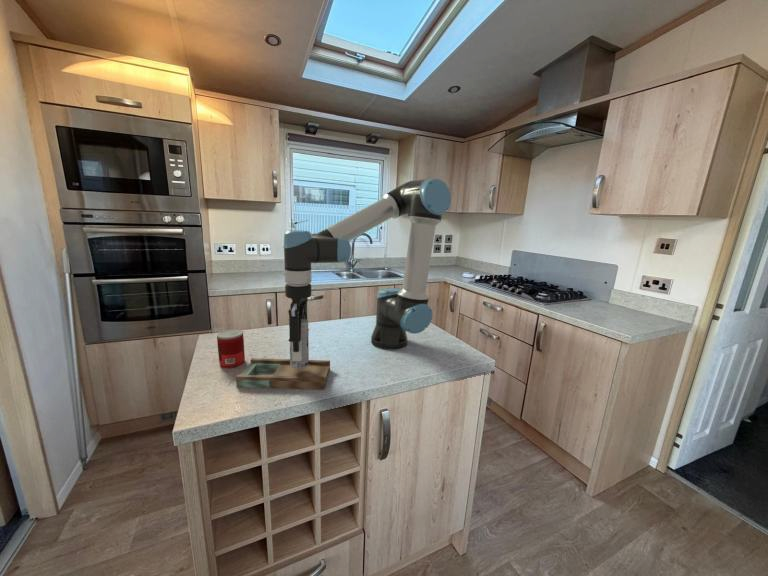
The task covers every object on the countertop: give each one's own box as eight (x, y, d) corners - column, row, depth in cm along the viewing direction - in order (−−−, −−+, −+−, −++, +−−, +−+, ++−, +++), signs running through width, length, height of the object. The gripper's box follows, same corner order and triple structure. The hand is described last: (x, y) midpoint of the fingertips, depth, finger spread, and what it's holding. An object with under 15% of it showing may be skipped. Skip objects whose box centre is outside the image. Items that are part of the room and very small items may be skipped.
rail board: (330, 370, 104) (330, 360, 104) (324, 389, 93) (324, 379, 92) (252, 367, 104) (251, 358, 103) (236, 387, 92) (235, 376, 91)
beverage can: (312, 365, 97) (312, 320, 94) (296, 371, 93) (296, 324, 90) (302, 359, 101) (301, 316, 98) (286, 365, 97) (285, 320, 93)
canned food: (249, 361, 108) (247, 332, 105) (228, 370, 101) (225, 339, 98) (236, 355, 111) (233, 327, 109) (214, 364, 105) (211, 334, 102)
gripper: (293, 276, 100) (295, 343, 105) (275, 290, 82) (278, 369, 87) (316, 277, 100) (317, 344, 106) (303, 291, 82) (305, 370, 87)
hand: (299, 355), depth 96 cm, fingers closed on beverage can, 5 cm apart
